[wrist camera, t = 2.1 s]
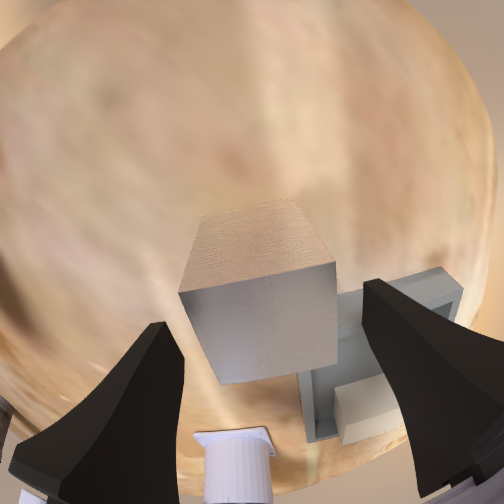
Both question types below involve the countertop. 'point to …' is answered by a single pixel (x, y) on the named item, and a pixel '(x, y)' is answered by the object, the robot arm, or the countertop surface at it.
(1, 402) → the beverage cup
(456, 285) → the tote
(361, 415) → the cream bevelled block
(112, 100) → the countertop surface
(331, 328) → the tin
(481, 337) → the robot arm
